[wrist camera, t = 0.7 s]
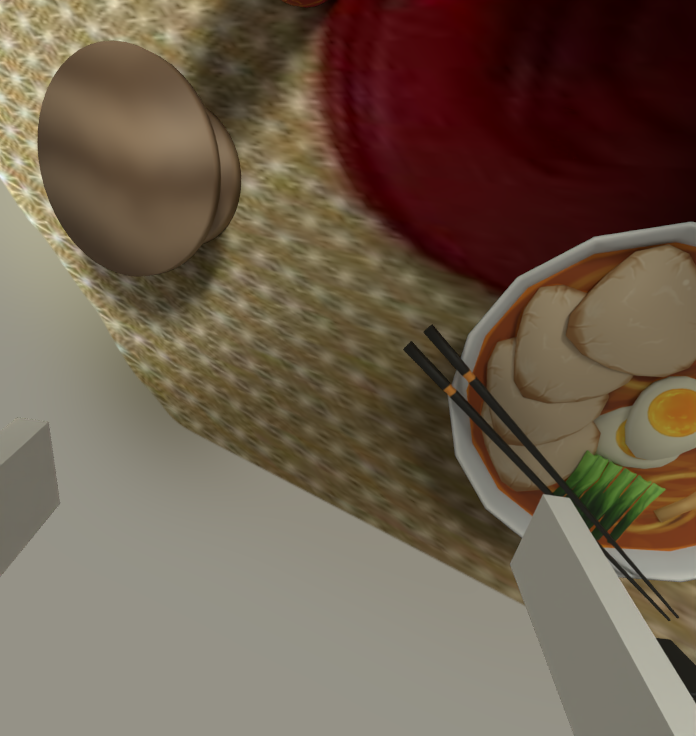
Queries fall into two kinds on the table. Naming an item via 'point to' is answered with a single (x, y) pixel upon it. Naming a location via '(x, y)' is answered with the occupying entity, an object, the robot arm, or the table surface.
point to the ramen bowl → (589, 398)
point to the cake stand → (134, 160)
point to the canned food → (304, 2)
